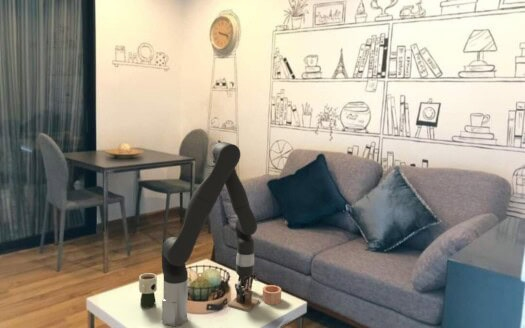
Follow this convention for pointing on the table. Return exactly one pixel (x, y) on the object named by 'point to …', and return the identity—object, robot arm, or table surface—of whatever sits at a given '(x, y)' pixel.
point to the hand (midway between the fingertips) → (243, 300)
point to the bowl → (271, 294)
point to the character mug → (148, 289)
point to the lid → (248, 303)
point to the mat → (243, 310)
